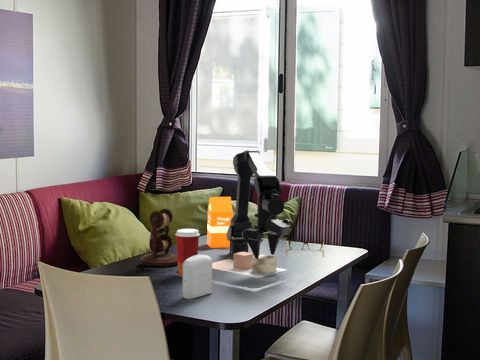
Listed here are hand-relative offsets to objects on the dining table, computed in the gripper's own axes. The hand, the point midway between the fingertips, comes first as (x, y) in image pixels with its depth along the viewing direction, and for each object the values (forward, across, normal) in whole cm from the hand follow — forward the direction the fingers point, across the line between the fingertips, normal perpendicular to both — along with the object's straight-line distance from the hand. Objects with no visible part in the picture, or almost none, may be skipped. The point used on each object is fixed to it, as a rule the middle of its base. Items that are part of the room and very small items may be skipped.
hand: (264, 256), depth 255 cm
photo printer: (+7, -36, -1) cm, 37 cm away
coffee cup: (+6, -17, +20) cm, 27 cm away
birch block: (+5, 0, 0) cm, 5 cm away
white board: (+6, 0, +9) cm, 11 cm away
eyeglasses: (+7, +42, +10) cm, 44 cm away
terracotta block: (+5, 0, +9) cm, 11 cm away
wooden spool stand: (+6, -13, +36) cm, 39 cm away
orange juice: (+6, +30, +44) cm, 54 cm away
